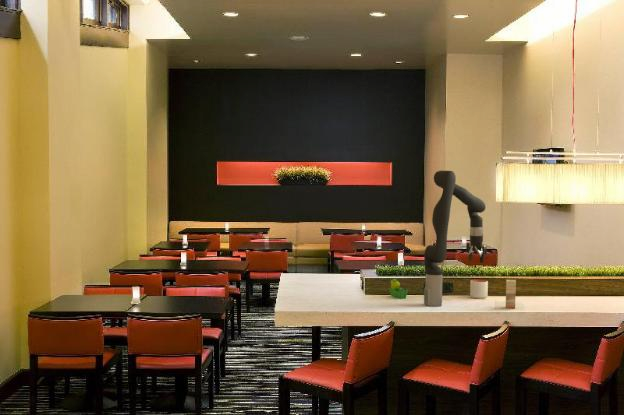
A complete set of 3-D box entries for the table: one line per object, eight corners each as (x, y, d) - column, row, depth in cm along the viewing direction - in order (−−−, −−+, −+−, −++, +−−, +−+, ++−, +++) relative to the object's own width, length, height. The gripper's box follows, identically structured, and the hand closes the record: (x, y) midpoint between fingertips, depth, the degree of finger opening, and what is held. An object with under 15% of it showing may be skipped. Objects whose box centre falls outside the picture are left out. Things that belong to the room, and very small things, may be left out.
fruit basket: (408, 298, 475) (409, 279, 474) (395, 299, 472) (395, 280, 471) (399, 295, 485) (400, 276, 485) (386, 296, 482) (386, 277, 481)
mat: (525, 310, 440) (525, 309, 440) (494, 309, 444) (494, 308, 444) (523, 303, 464) (523, 302, 464) (494, 302, 467) (494, 301, 467)
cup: (482, 299, 475) (483, 282, 474) (467, 297, 481) (467, 280, 481) (490, 297, 483) (490, 280, 482) (474, 295, 489) (475, 279, 488)
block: (515, 308, 443) (515, 281, 443) (505, 308, 444) (506, 280, 444) (514, 307, 448) (515, 280, 447) (505, 306, 449) (506, 279, 449)
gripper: (462, 233, 478) (463, 260, 480) (480, 236, 466) (480, 264, 468) (472, 232, 482) (472, 259, 484) (489, 235, 470) (489, 262, 472)
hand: (476, 261), depth 476 cm, fingers open, 8 cm apart
